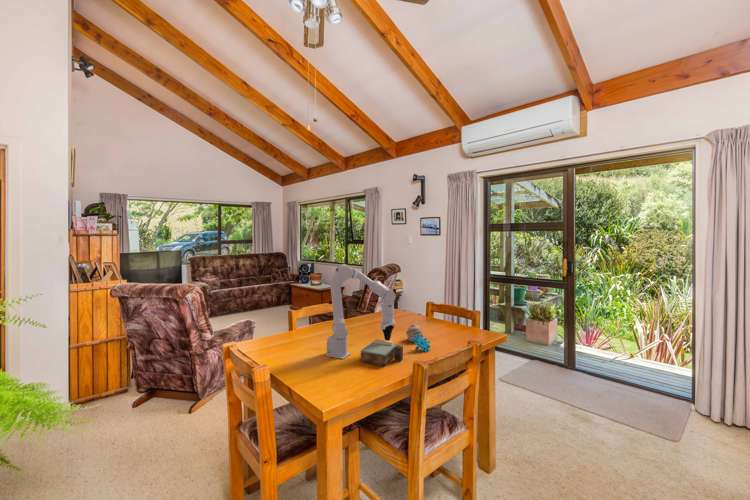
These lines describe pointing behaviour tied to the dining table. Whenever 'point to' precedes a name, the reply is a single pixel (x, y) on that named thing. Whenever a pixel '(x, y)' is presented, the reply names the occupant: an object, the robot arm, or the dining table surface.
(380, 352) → the lid
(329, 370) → the dining table surface
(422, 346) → the gear
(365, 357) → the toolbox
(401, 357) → the block
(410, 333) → the cupcake
